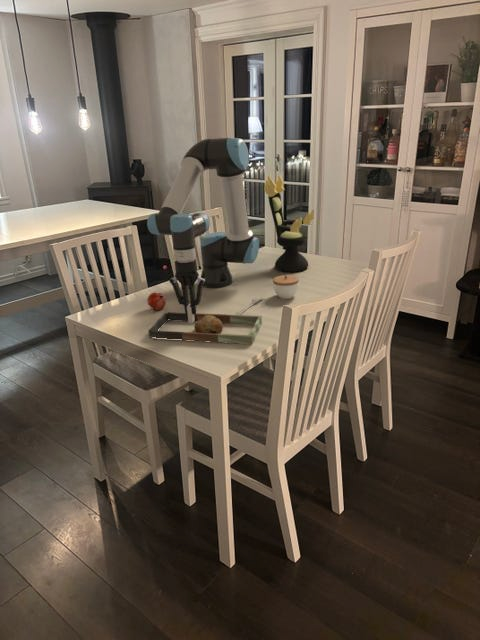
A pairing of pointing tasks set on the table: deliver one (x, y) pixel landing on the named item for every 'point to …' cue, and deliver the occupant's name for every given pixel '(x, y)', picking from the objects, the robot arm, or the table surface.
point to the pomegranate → (156, 301)
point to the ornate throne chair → (287, 230)
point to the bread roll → (208, 325)
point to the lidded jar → (285, 286)
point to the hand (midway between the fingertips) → (191, 321)
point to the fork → (248, 306)
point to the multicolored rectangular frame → (208, 336)
